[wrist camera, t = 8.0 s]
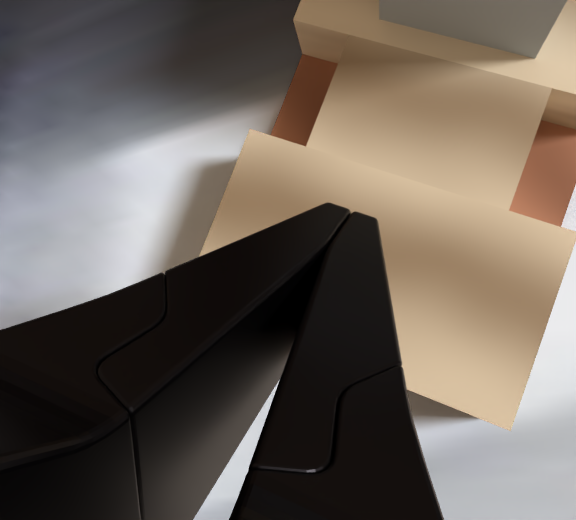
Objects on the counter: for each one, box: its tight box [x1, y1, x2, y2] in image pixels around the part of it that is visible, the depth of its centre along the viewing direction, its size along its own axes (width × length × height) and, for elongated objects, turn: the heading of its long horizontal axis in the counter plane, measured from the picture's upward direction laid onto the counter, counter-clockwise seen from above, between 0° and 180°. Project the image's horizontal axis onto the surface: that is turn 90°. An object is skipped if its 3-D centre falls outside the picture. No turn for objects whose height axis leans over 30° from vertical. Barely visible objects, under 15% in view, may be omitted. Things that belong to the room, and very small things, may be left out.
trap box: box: [199, 0, 576, 431], centre depth 15 cm, size 17×10×8 cm, turn 159°
